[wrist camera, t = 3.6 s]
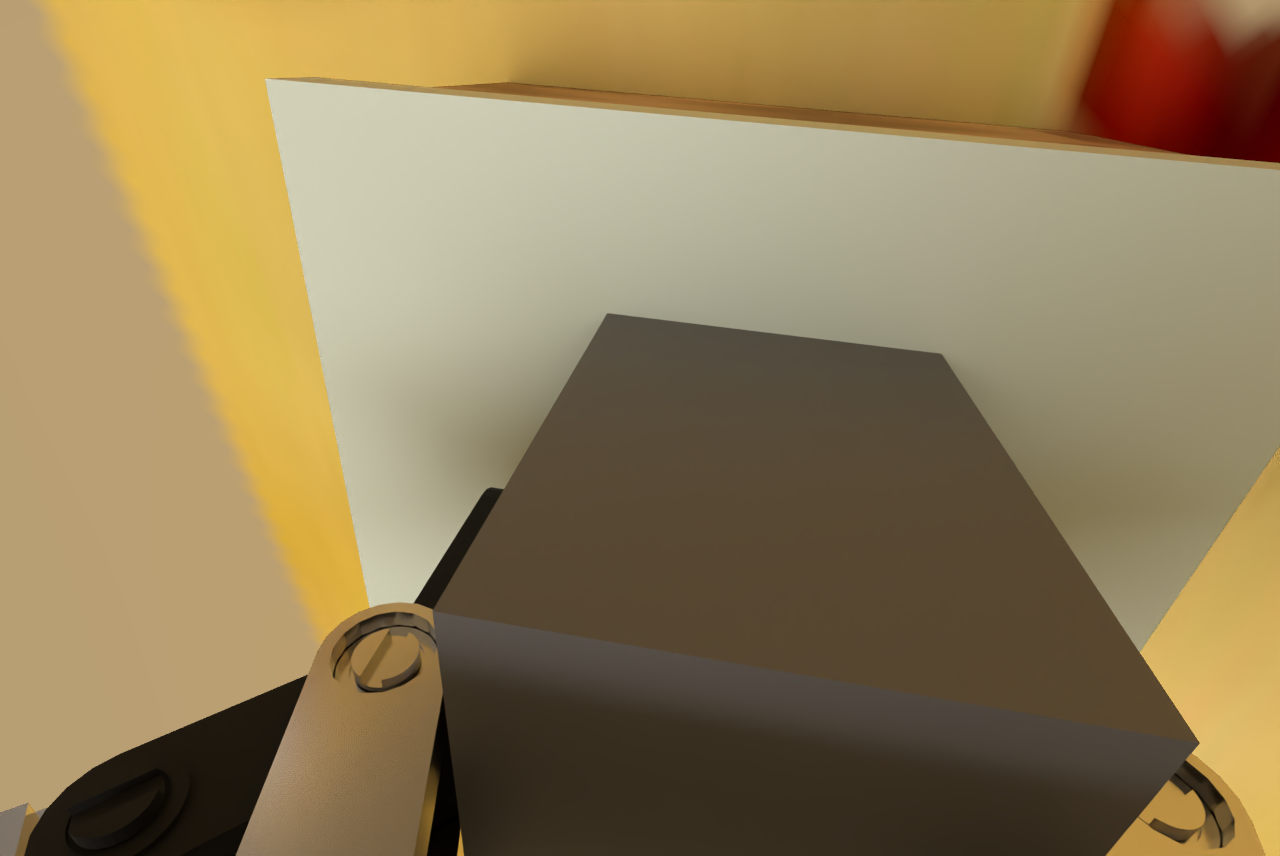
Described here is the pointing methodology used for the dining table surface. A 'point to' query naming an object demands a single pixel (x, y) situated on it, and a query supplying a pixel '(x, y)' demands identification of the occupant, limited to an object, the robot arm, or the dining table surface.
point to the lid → (784, 458)
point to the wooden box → (806, 115)
